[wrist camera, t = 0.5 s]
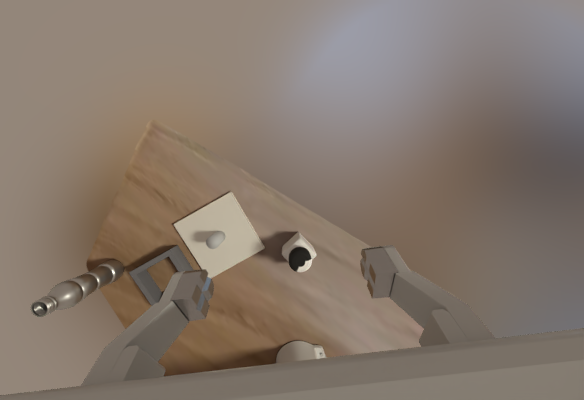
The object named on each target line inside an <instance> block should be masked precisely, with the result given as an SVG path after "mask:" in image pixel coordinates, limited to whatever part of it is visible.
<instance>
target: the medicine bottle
mask: <svg viewBox="0 0 584 400" xmlns="http://www.w3.org/2000/svg"><path fill="white" fill-rule="evenodd" d="M282 256H283V257H284V258H285V259H286V260H287V261H288V262H289V265H290V267H291V268H292V269H293V270H294V271H296V272H304V271H306V270H308V269H309V268H310V266H311V264H312V259H313V258H315V257H316V252H315V250H314V247H313V246H312V245H311V244H310V243H309V242H308V241H307V240H306V239H305V238H304V237H303V236H302V235H301V233H300V232H297V233H296V234H295V235H294V236H293V237H292V238H291V239H290V240H289V241H288V242H286V243H285V244H284V245H283V246H282Z"/></svg>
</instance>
